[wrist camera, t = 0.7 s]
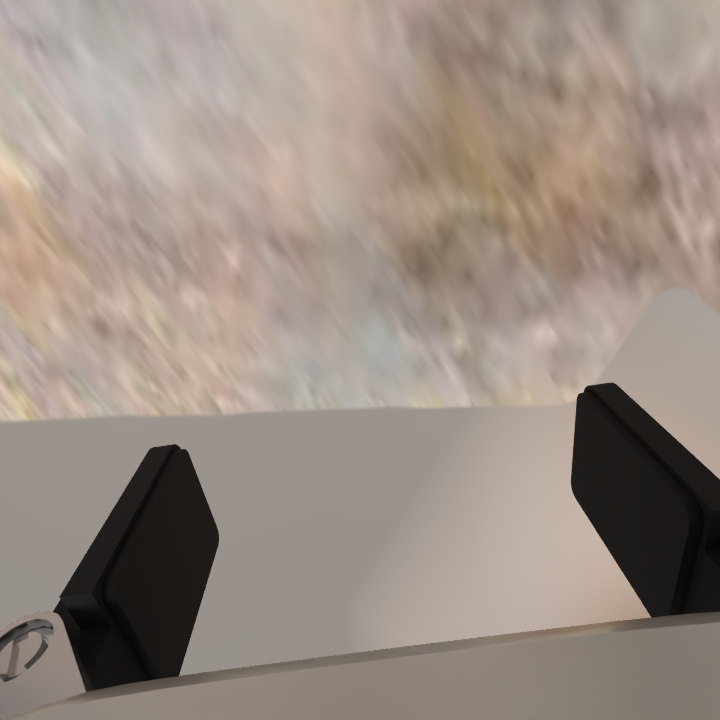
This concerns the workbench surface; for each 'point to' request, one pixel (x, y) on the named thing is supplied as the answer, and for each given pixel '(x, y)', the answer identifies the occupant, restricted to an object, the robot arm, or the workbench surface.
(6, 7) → the workbench surface
